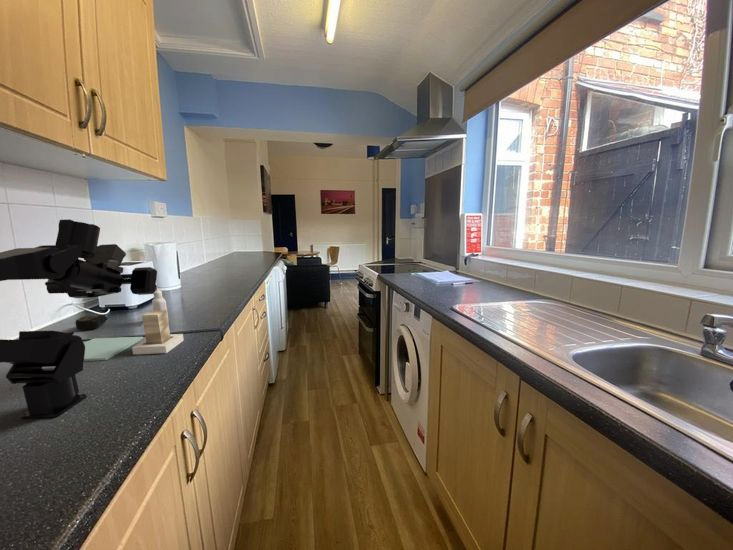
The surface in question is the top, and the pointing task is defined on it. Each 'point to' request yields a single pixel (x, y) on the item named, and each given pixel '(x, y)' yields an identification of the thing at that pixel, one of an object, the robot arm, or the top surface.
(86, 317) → the tape measure
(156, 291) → the eye dropper bottle
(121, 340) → the pad
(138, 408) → the top surface
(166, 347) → the beige square frame
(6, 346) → the robot arm
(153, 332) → the peg
